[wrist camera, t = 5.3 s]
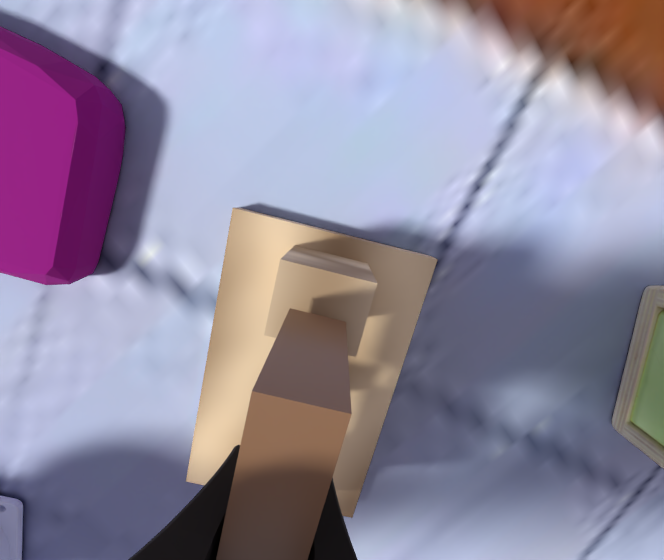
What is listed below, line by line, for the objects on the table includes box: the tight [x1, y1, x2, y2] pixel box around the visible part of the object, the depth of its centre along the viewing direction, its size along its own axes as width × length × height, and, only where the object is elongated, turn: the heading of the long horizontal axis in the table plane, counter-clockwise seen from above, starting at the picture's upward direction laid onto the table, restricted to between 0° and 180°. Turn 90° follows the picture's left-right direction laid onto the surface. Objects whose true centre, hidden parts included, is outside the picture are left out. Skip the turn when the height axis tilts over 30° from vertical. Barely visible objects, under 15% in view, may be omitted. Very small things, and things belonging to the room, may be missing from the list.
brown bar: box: [216, 308, 352, 560], centre depth 10 cm, size 2×12×5 cm, turn 166°
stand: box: [186, 208, 438, 518], centre depth 16 cm, size 10×16×5 cm, turn 166°
